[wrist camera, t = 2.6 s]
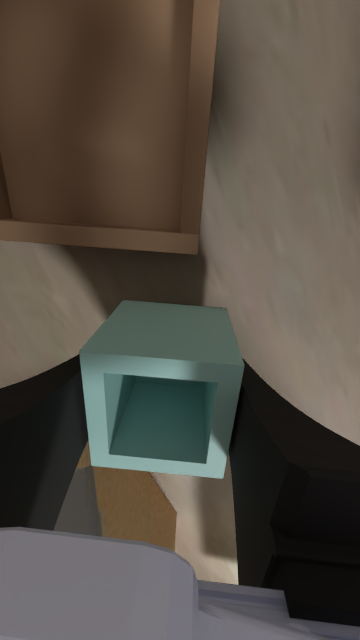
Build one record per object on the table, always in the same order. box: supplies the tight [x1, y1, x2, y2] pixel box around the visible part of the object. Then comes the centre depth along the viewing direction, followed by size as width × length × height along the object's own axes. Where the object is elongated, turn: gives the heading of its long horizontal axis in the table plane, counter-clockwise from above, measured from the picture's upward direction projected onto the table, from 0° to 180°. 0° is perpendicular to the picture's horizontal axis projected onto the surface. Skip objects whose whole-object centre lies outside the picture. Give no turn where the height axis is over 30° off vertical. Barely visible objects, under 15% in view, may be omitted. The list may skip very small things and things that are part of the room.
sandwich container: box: [53, 440, 177, 552], centre depth 13 cm, size 9×15×15 cm, turn 26°
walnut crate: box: [0, 0, 220, 255], centre depth 10 cm, size 10×10×2 cm
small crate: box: [79, 300, 245, 479], centre depth 11 cm, size 5×5×5 cm
